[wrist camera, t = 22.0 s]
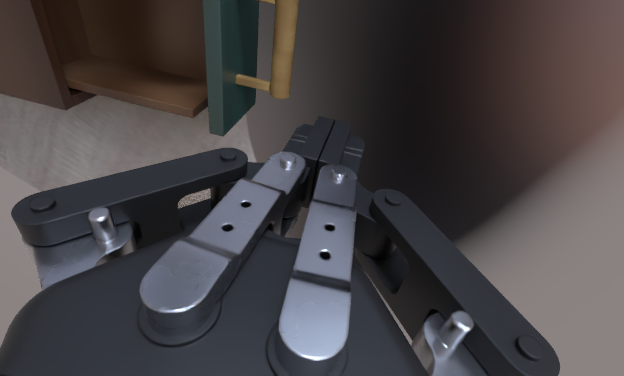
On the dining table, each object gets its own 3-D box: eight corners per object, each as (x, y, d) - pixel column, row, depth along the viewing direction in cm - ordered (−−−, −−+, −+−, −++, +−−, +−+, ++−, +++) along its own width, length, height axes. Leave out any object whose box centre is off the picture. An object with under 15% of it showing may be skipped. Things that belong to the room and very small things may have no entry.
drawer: (321, -69, 23) (293, -71, 18) (298, 113, 32) (275, 149, 26) (52, -116, 25) (-46, -131, 20) (97, 66, 34) (36, 90, 28)
